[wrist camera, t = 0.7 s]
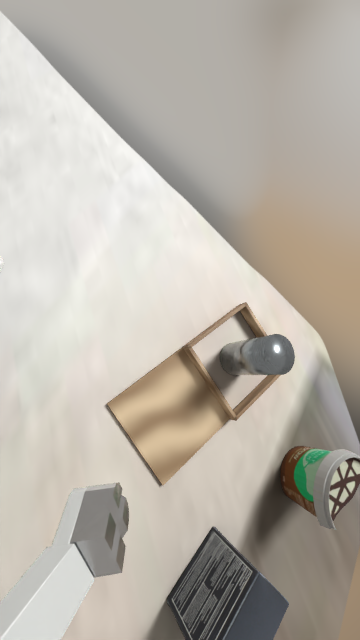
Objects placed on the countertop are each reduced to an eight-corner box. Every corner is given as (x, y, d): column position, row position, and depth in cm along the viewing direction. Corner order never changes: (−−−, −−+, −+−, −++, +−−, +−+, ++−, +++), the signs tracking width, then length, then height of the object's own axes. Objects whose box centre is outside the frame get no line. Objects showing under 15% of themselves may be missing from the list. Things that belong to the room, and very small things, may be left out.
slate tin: (214, 354, 45) (255, 348, 35) (235, 337, 48) (280, 326, 38) (231, 381, 46) (277, 383, 36) (252, 362, 48) (300, 359, 38)
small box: (196, 629, 36) (241, 719, 27) (164, 599, 36) (200, 681, 26) (240, 552, 41) (293, 606, 31) (212, 524, 40) (258, 570, 30)
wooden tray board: (106, 403, 37) (109, 405, 35) (238, 305, 49) (246, 302, 47) (162, 484, 38) (167, 490, 36) (278, 368, 50) (287, 367, 48)
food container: (305, 424, 50) (358, 434, 41) (321, 452, 50) (377, 469, 41) (262, 469, 45) (311, 493, 36) (279, 501, 45) (333, 533, 36)
